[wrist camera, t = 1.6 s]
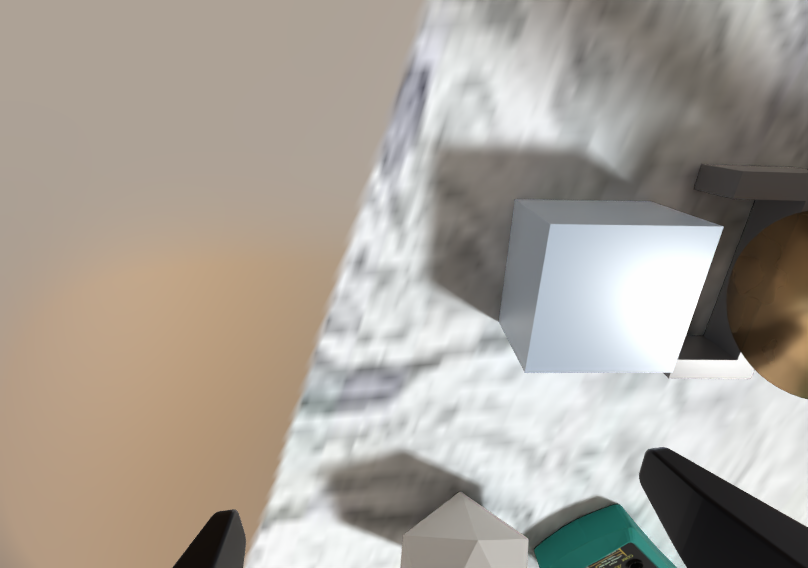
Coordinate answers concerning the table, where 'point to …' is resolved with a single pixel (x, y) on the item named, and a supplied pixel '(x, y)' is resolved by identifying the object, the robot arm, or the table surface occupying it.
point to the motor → (775, 305)
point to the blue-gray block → (602, 284)
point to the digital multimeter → (601, 544)
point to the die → (463, 539)
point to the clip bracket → (773, 201)
